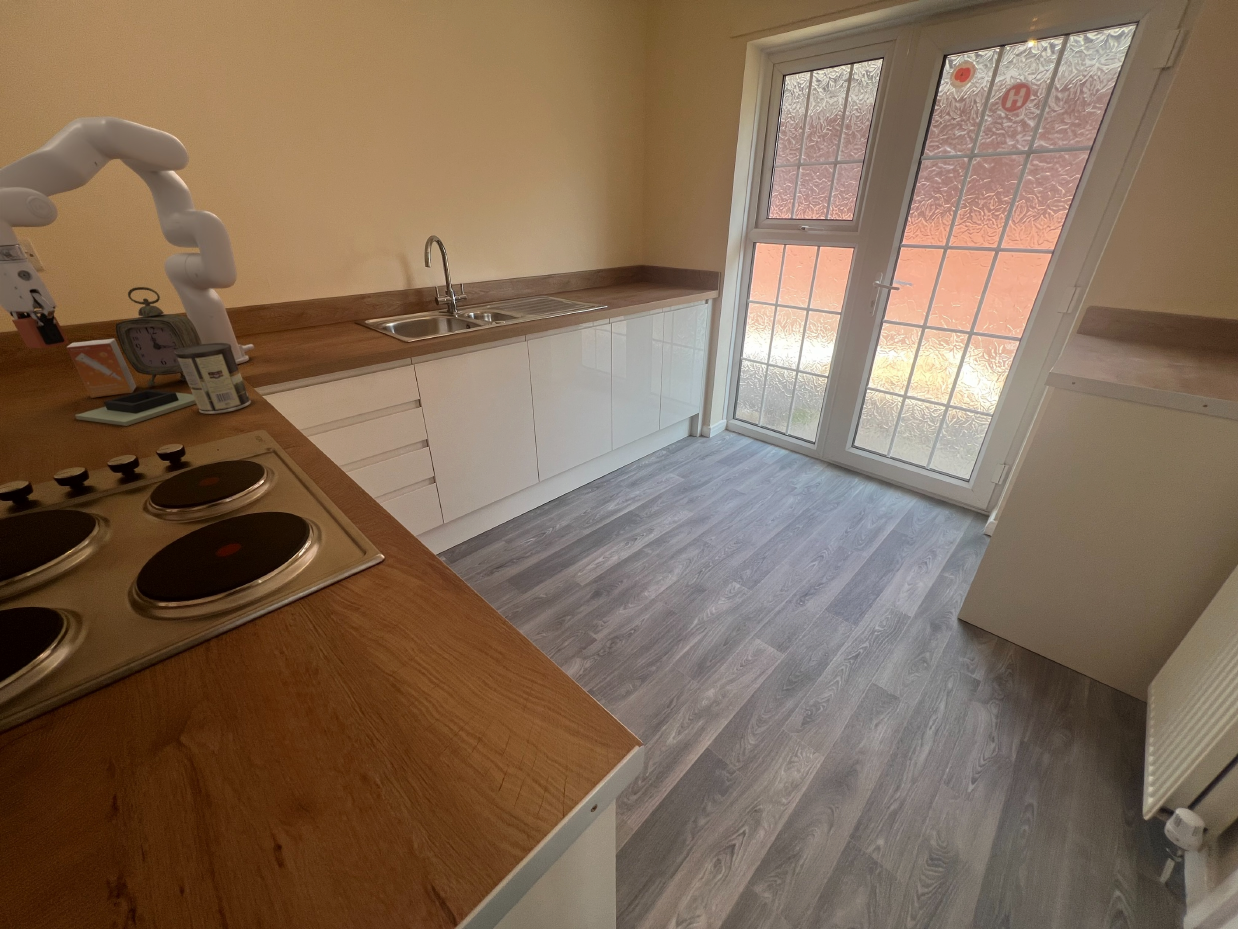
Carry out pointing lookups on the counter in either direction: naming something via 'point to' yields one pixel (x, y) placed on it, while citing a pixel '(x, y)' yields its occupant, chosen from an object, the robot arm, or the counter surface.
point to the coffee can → (213, 377)
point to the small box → (102, 367)
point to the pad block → (35, 333)
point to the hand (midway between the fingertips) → (46, 341)
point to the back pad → (138, 407)
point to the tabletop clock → (155, 339)
